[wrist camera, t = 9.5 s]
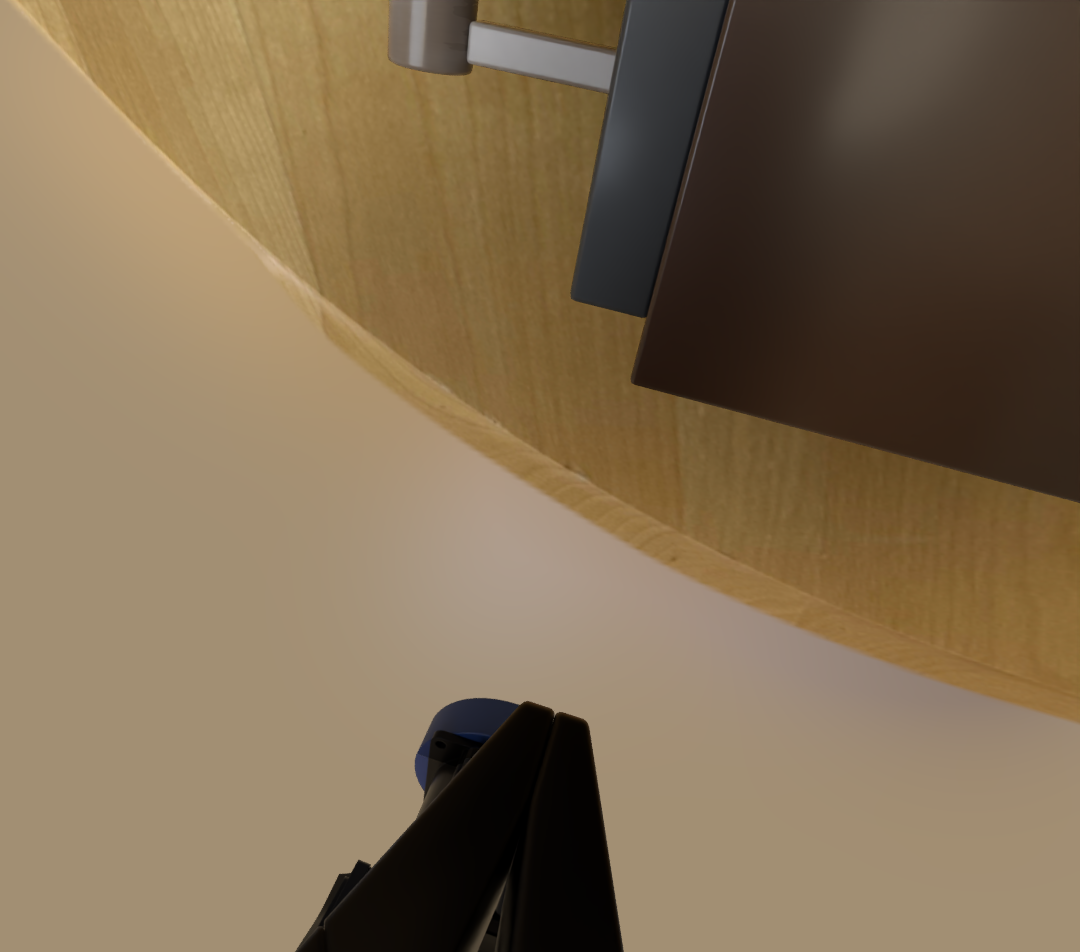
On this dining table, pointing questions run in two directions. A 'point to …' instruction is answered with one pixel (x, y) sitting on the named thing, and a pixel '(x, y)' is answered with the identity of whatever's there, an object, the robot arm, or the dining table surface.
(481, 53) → the drawer
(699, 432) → the dining table surface
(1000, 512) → the dining table surface
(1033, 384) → the cabinet
